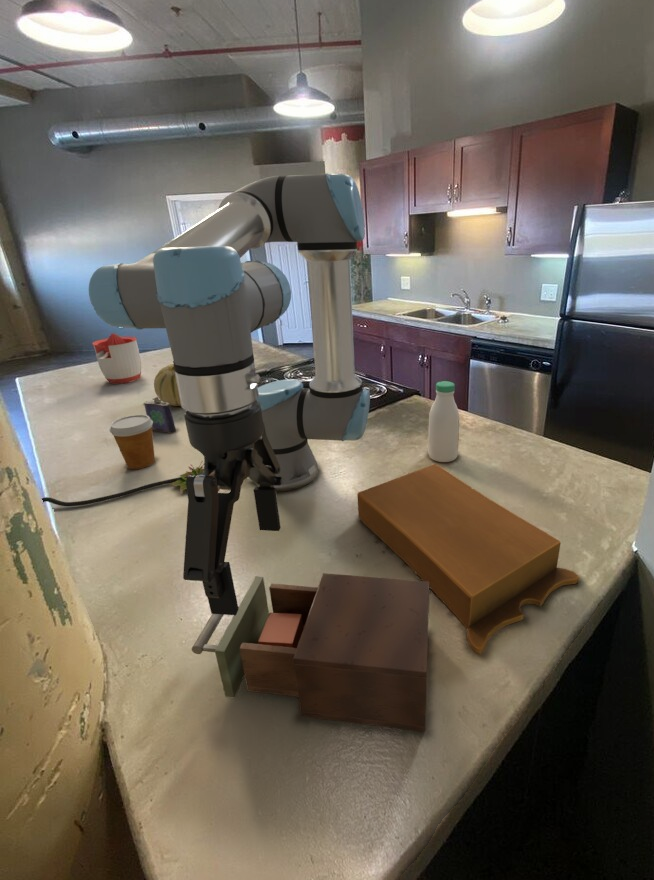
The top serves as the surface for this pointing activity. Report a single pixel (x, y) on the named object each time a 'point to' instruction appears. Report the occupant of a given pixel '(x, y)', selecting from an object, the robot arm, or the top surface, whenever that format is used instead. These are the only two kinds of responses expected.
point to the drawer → (240, 641)
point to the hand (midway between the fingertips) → (250, 565)
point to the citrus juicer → (118, 358)
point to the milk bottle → (443, 424)
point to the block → (282, 630)
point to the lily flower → (194, 472)
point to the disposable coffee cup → (134, 440)
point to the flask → (160, 415)
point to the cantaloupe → (167, 386)
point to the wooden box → (465, 548)
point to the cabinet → (365, 652)
